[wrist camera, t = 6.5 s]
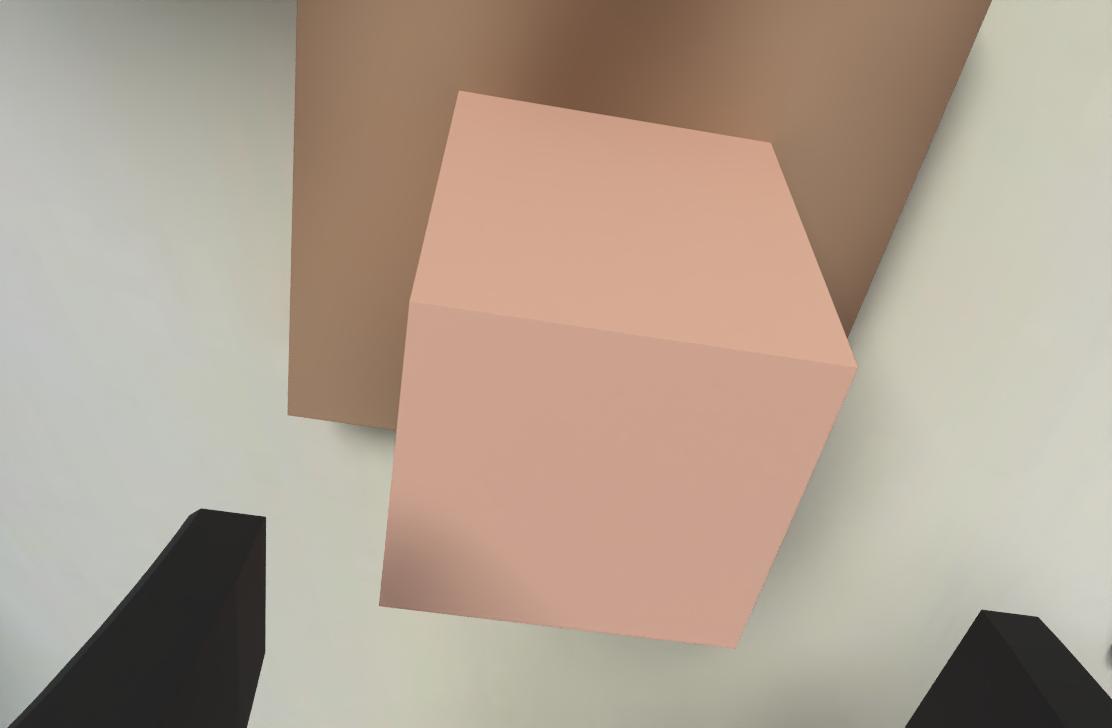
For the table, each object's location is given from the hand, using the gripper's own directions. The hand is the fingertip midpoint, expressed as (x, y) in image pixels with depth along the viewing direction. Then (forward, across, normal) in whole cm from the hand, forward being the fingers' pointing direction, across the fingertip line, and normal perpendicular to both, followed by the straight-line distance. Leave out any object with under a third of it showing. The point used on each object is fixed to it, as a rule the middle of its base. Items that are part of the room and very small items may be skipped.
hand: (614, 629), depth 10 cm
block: (+8, 0, 0) cm, 8 cm away
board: (+10, 0, 0) cm, 10 cm away
